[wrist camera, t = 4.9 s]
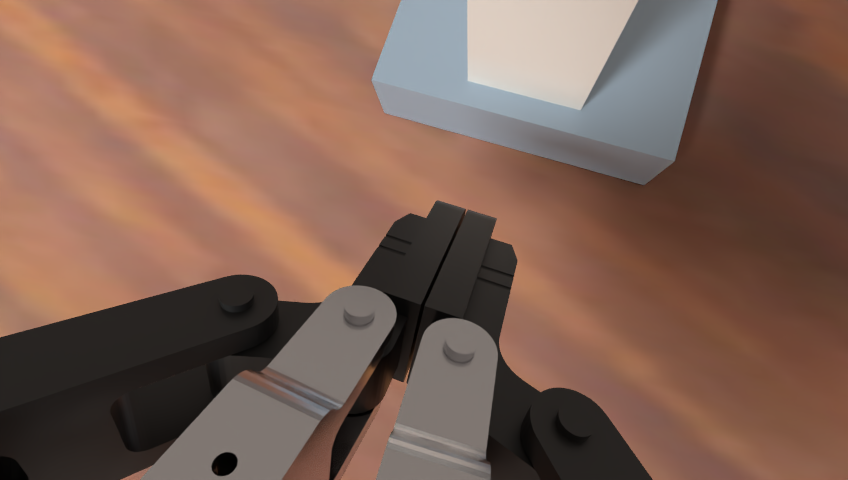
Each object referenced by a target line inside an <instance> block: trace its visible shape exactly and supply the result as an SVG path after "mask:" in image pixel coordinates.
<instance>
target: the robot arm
mask: <svg viewBox="0 0 848 480" xmlns="http://www.w3.org/2000/svg"><path fill="white" fill-rule="evenodd" d="M465 212H466V209H464V208H461V207H457V206H454V205H451V204H448V203H444V202H441V201H438V200H437V201H436V202H435V204H434V206H433V208H432V209H431V211H430V213H429V214H428V216H427V218H424V217H421V216H418V215H414V214H411V213H410V214H408V215H406V216H404V217H403V218H401V219H399V220H397V221H395V222H394V224H393V225H392V227H391V228H390V230H389V231H388V233H387V234H386V237H384V239H383V240H382V242H381V243H380V244H379V247H377V249H376V250H375V252H374V253H373V255H372V256H371V258H370V259H369V261H368V262H367V264H366V265H365V267H364V268H363V270H362V271H361V273H360V274H359V276H358V277H357V278H356V280H355V281H354V283H353V284H352V286H347V287H343V288H340V289H338V290H336V291H334V292H332V293H331V294H330V295H329V296H328V297H327V298H326V299H325V300H324V301H323V302H320V303H301V302H288V301H278V296H277V292H276V290H275V288H274V287H273V286H272V285H271V284H270V283H269V282H267V281H266V280H264V279H262V278H259V277H256V276H252V275H232V276H227V277H223V278H219V279H216V280H212V281H208V282H205V283H201V284H197V285H193V286H190V287H186V288H182V289H179V290H175V291H171V292H167V293H164V294H160V295H156V296H153V297H149V298H145V299H141V300H138V301H134V302H130V303H127V304H123V305H119V306H115V307H112V308H108V309H104V310H101V311H97V312H93V313H90V314H86V315H82V316H78V317H75V318H71V319H67V320H64V321H60V322H56V323H52V324H49V325H45V326H41V327H38V328H34V329H30V330H26V331H23V332H19V333H15V334H12V335H8V336H4V337H0V480H120V479H123V478H125V477H127V476H129V475H132V474H134V473H136V472H139V471H141V470H143V469H145V468H148V467H150V466H152V465H153V466H152V467H151V468H150V469H149V470H148V471H147V473H146V474H145V475H144V476H143V477H142V478H141V479H140V480H340V479H341V478H342V476H343V474H344V472H345V470H346V469H347V467H348V465H349V463H350V461H351V459H352V458H353V456H354V454H355V452H356V450H357V449H358V447H359V445H360V443H361V441H362V439H363V438H364V436H365V434H366V432H367V430H368V429H369V427H370V425H371V423H372V421H373V419H374V418H375V416H376V414H377V412H378V410H379V408H380V403H381V401H382V399H383V397H384V396H385V393H386V391H387V389H388V387H389V385H390V382H391V380H392V378H393V379H396V380H398V381H401V382H404V380H405V377H406V375H407V373H408V370H409V368H410V370H409V374H408V379H407V384H408V385H407V388H406V391H405V394H404V397H403V401H402V404H401V407H400V410H399V414H398V417H397V420H396V423H395V426H394V429H393V431H392V432H391V434H390V437H389V440H388V443H387V446H386V449H385V452H384V455H383V459H382V462H381V465H380V468H379V471H378V474H377V478H376V480H652V478H651V477H650V475H649V474H648V473H647V471H646V470H645V468H644V467H643V466H642V464H641V463H640V461H639V460H638V458H637V457H636V456H635V454H634V453H633V451H632V450H631V449H630V447H629V446H628V444H627V443H626V442H625V440H624V439H623V437H622V436H621V435H620V433H619V432H618V430H617V429H616V428H615V426H614V425H613V423H612V422H611V421H610V419H609V418H608V416H607V415H606V414H605V413H604V411H603V410H602V409H601V408H600V407H599V406H598V405H597V404H596V403H595V402H593V401H592V400H591V399H590V398H588V397H586V396H585V395H583V394H581V393H579V392H577V391H574V390H570V389H566V388H551V389H547V390H545V391H543V392H539V391H538V390H536V389H535V388H533V387H532V386H530V385H529V384H528V383H526V382H525V381H523V380H522V379H521V378H519V377H518V376H517V375H516V374H515V373H514V372H513V371H512V370H511V369H510V368H509V367H508V366H507V364H506V363H505V361H504V359H503V357H502V355H501V352H500V348H499V337H500V333H501V328H502V324H503V320H504V316H505V311H506V307H507V303H508V299H509V294H510V289H511V286H512V282H513V277H514V273H515V269H516V265H517V258H516V255H515V253H514V250H513V247H512V245H510V244H507V243H504V242H500V241H497V240H494V239H491V236H492V232H493V229H494V226H495V223H496V219H497V218H493V217H490V216H487V215H484V214H480V213H477V212H474V211H471V210H468V211H467V212H466V215H465ZM410 365H411V366H410ZM193 368H194V369H193ZM154 382H155V383H154ZM140 387H141V388H140Z"/></svg>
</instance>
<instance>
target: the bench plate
mask: <svg viewBox="0 0 848 480" xmlns="http://www.w3.org/2000/svg"><path fill="white" fill-rule="evenodd" d="M717 1H718V0H638V2H637V4H636V6H635V8H634V10H633V11H632V13H631V15H630V17H629V19H628V21H627V23H626V25H625V27H624V29H623V31H622V32H621V34H620V36H619V38H618V40H617V42H616V44H615V46H614V48H613V50H612V51H611V53H610V55H609V57H608V59H607V61H606V63H605V65H604V67H603V69H602V70H601V72H600V74H599V76H598V78H597V80H596V82H595V84H594V86H593V88H592V90H591V91H590V93H589V95H588V97H587V99H586V101H585V103H584V105H583V107H582V109H581V110H577V109H573V108H570V107H566V106H562V105H558V104H554V103H550V102H547V101H543V100H539V99H535V98H531V97H527V96H523V95H520V94H516V93H512V92H508V91H504V90H500V89H497V88H493V87H489V86H485V85H481V84H477V83H474V82H470V81H468V49H467V0H401V2H400V5H399V8H398V10H397V13H396V16H395V18H394V21H393V24H392V26H391V29H390V32H389V34H388V37H387V40H386V42H385V45H384V48H383V50H382V53H381V55H380V58H379V61H378V63H377V66H376V69H375V71H374V74H373V77H372V79H371V80H372V83H373V85H374V88H375V90H376V93H377V95H378V98H379V100H380V103H381V105H382V108H383V110H384V113H387V114H390V115H394V116H397V117H401V118H404V119H408V120H412V121H415V122H419V123H422V124H426V125H430V126H433V127H437V128H440V129H444V130H448V131H451V132H455V133H458V134H462V135H465V136H469V137H473V138H476V139H480V140H483V141H487V142H491V143H494V144H498V145H501V146H505V147H509V148H512V149H516V150H519V151H523V152H526V153H530V154H534V155H537V156H541V157H544V158H548V159H552V160H555V161H559V162H562V163H566V164H570V165H573V166H577V167H580V168H584V169H587V170H591V171H595V172H598V173H602V174H605V175H609V176H613V177H616V178H620V179H623V180H627V181H630V182H634V183H638V184H641V185H645V184H647V183H648V182H649V181H650V180H652V179H653V178H654V177H655V176H657V175H658V174H659V173H660V172H662V171H663V170H664V169H666V168H667V167H668V166H669V165H671V164H672V163H673V162H674V161H675V158H676V154H677V151H678V147H679V143H680V139H681V136H682V132H683V128H684V125H685V121H686V117H687V113H688V110H689V106H690V102H691V98H692V95H693V91H694V87H695V83H696V80H697V76H698V72H699V68H700V65H701V61H702V57H703V53H704V50H705V46H706V42H707V38H708V35H709V31H710V27H711V23H712V20H713V16H714V12H715V8H716V5H717Z"/></svg>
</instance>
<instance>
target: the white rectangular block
mask: <svg viewBox="0 0 848 480" xmlns="http://www.w3.org/2000/svg"><path fill="white" fill-rule="evenodd" d="M637 2H638V0H467V49H468V81H470V82H474V83H477V84H481V85H485V86H489V87H493V88H497V89H500V90H504V91H508V92H512V93H516V94H520V95H523V96H527V97H531V98H535V99H539V100H543V101H547V102H550V103H554V104H558V105H562V106H566V107H570V108H573V109H577V110H581V109H582V107H583V105H584V103H585V101H586V99H587V97H588V95H589V93H590V91H591V90H592V88H593V86H594V84H595V82H596V80H597V78H598V76H599V74H600V72H601V70H602V69H603V67H604V65H605V63H606V61H607V59H608V57H609V55H610V53H611V51H612V50H613V48H614V46H615V44H616V42H617V40H618V38H619V36H620V34H621V32H622V31H623V29H624V27H625V25H626V23H627V21H628V19H629V17H630V15H631V13H632V11H633V10H634V8H635V6H636V4H637Z"/></svg>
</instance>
